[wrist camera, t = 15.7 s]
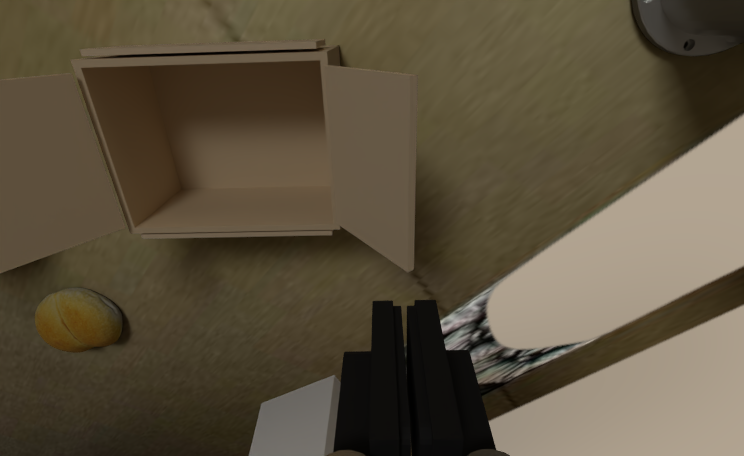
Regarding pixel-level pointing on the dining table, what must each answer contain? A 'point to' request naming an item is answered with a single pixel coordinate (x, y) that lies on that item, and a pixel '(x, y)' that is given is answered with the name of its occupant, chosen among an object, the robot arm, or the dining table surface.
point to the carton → (215, 136)
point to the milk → (299, 422)
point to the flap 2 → (375, 157)
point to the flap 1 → (49, 172)
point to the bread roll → (78, 320)
